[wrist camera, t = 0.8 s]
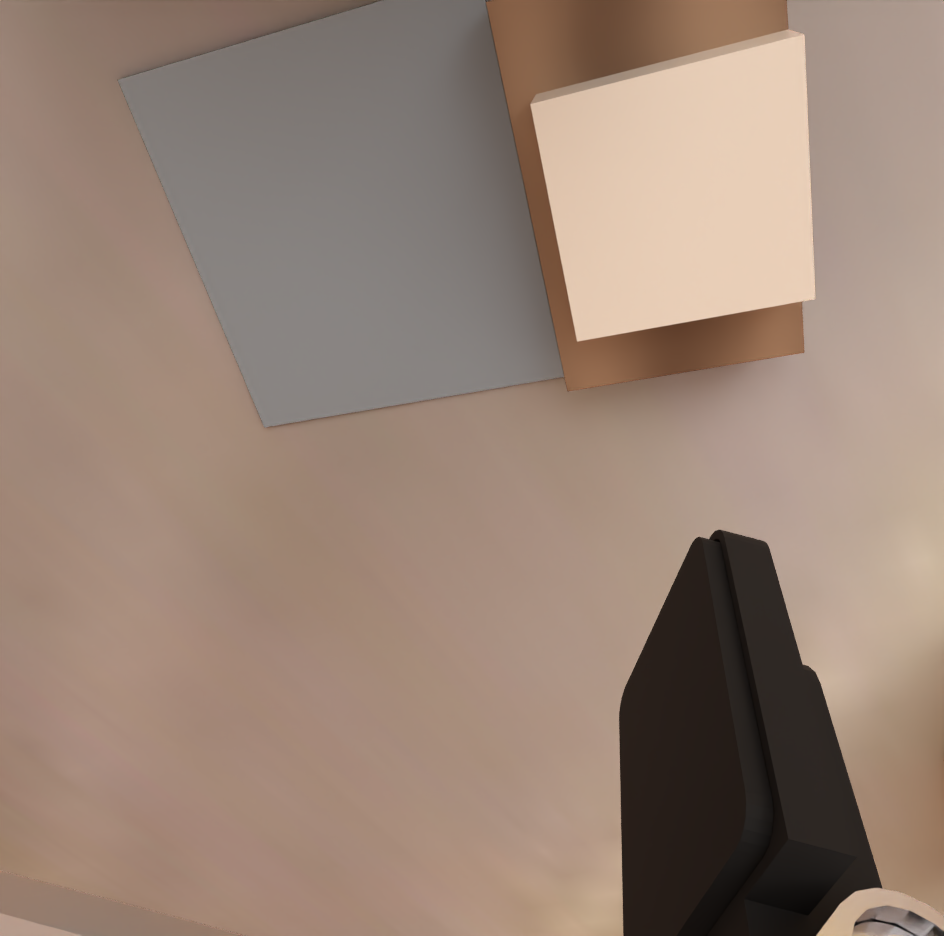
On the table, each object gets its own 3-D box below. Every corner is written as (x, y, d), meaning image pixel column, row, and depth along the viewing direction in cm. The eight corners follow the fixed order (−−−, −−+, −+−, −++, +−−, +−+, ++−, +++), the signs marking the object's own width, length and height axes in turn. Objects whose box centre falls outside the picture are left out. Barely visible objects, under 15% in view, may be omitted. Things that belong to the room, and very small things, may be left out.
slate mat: (479, -29, 29) (478, -29, 29) (564, 374, 36) (563, 376, 36) (121, 79, 32) (117, 79, 32) (266, 424, 40) (264, 427, 40)
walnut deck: (760, -77, 27) (782, -84, 24) (784, 314, 34) (804, 352, 30) (499, -2, 29) (486, 2, 26) (571, 352, 36) (567, 391, 32)
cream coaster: (787, 29, 25) (804, 34, 23) (800, 276, 29) (815, 298, 27) (535, 94, 27) (530, 104, 25) (578, 317, 31) (577, 341, 29)
